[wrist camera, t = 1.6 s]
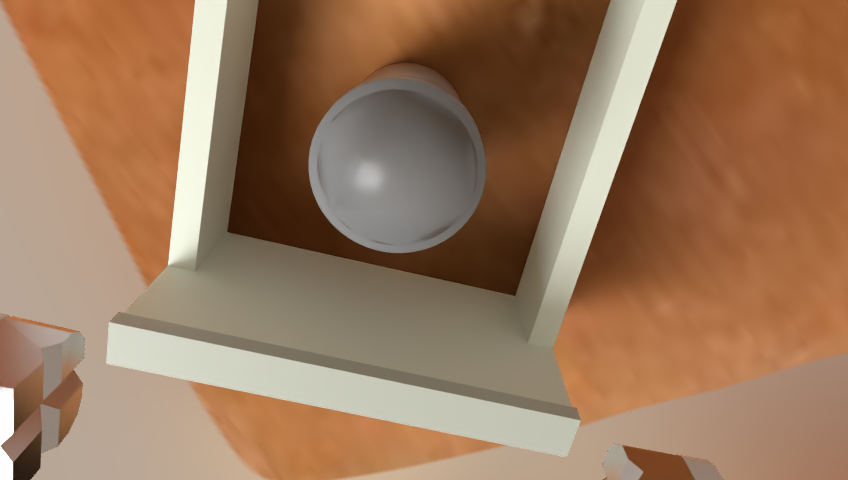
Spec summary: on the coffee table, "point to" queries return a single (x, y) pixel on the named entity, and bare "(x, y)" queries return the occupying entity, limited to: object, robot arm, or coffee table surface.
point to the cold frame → (378, 271)
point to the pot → (398, 161)
